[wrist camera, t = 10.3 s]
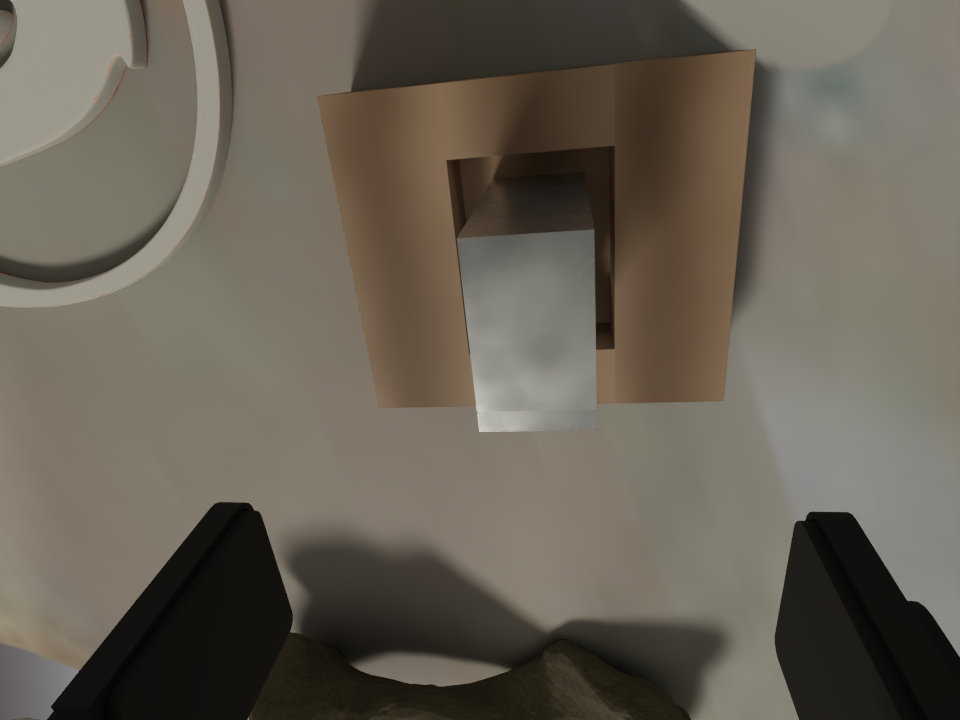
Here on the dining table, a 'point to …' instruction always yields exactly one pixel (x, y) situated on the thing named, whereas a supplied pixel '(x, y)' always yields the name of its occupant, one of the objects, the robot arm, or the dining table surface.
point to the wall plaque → (83, 96)
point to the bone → (458, 691)
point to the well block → (540, 151)
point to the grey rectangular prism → (532, 304)
